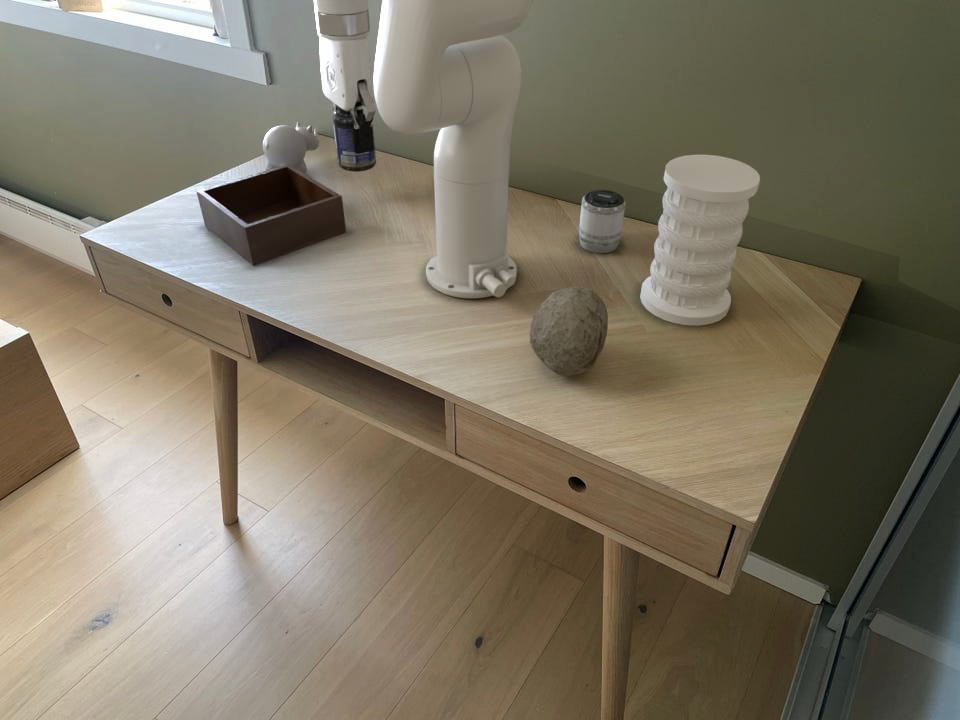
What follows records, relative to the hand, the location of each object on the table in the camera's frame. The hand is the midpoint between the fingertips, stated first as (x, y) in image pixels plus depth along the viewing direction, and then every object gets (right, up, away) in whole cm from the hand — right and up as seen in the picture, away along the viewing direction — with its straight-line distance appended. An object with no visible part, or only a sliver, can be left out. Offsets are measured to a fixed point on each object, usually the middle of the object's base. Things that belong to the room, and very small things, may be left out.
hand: (355, 143), depth 114 cm
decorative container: (+47, -27, -19) cm, 57 cm away
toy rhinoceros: (-13, -1, +14) cm, 19 cm away
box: (-12, -14, -4) cm, 19 cm away
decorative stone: (+30, -35, -30) cm, 55 cm away
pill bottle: (0, -3, +2) cm, 4 cm away
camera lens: (+38, -17, -6) cm, 42 cm away
